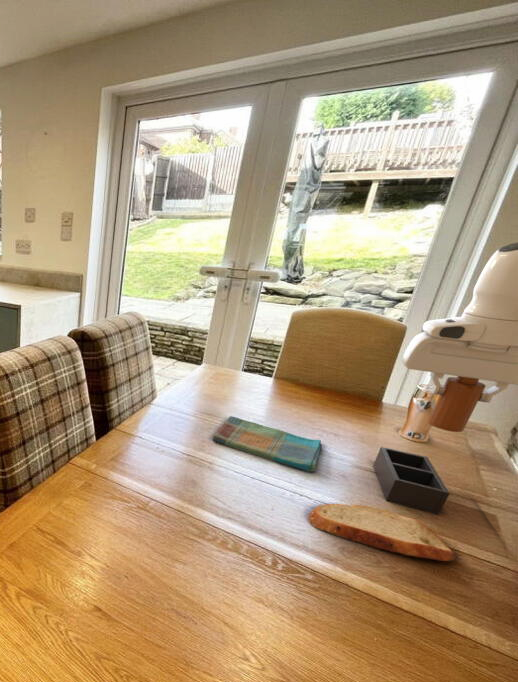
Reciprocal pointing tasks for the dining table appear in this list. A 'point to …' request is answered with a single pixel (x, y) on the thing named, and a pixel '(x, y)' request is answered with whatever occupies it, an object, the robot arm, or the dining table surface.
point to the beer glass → (419, 414)
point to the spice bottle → (456, 403)
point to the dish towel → (269, 443)
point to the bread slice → (381, 530)
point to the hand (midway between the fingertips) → (458, 397)
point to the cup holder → (410, 480)
